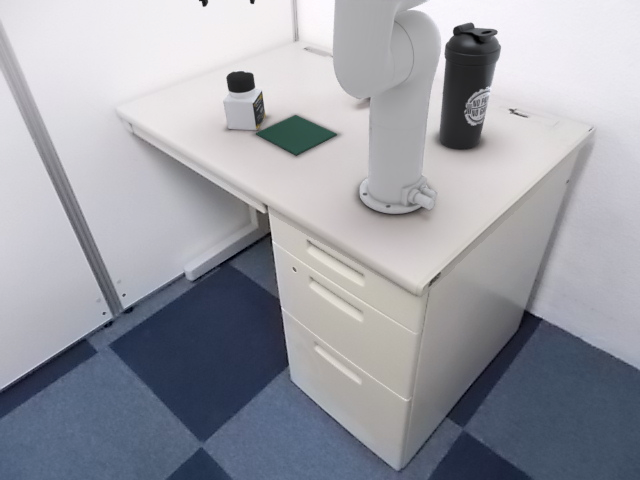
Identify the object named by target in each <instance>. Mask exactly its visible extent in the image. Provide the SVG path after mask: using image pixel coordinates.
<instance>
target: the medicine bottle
mask: <svg viewBox="0 0 640 480" xmlns="http://www.w3.org/2000/svg"><path fill="white" fill-rule="evenodd" d="M254 75H255V74H254V73H253V72H252V71H249V70H245V69H238V70H237V69H236V70H233V71H231V72H230V73H228V74H227V76H226V77H225V78H226V84H227V90H228V94H226V95H227V96H225V97H224V99H223V101H222V102H223V103H222V104H223V107H224V113H225V119H226V125H227V129H228V130H240V131H241V130H242V131H257V130H259V128H260V127H261V125H262V123H263V121H264V120H265V119H266V110H265V103H264V95H263V89H262V88H256V85H255V84H256V82H255V76H254Z"/></svg>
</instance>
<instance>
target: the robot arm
mask: <svg viewBox="0 0 640 480" xmlns="http://www.w3.org/2000/svg"><path fill="white" fill-rule="evenodd" d="M198 1H199V2H201V6H202V8H205V7H207V6H208V4H209V0H198ZM429 1H430V0H334V9H333V10H334V12H333V14H334V15H333V30H332V31H333V34H332V64H333V71H334V75H335V78H336V80H337V82H338V84H339V86H340V87H341V89H342V91H344V92H345V93H346V94H347V95H349V96H351V97H353V98H355V99H357V98H362V99H369V97H371V99H370V101H369V109H368V110H369V114H368V155H367V156H368V157H367V158H368V161H367V162H368V163H367V164H368V165H367V170H368V171H367V177H366V178H365V179H363V180H362V181H361V183H360V185H359V193H358V194H359V198H360V200H361V201H362V203H363V204H364V205H366V206H367V207H368V208H370V209H372V210H374V211H376V212H380V213H383V214H384V213H385V214H390V215H396V214H397V215H398V214H401V215H402V214H406V213H411V212H414V211H416V210H418V209H420V208H421V207H422V208H425V209H426V210H428V211H430V210H432V209H434V207H435V203H436V200H435V199H436V198H437V196H438V192H437V191H435V190H433V189H431V188H430V189H429V186H428V184H427V176H424V175H423V167H424V166H423V165H424V157H425V156H424V155H425V148H426V147H425V146H426V136H427V127H428V126H427V125H428V119H429V118H428V117H429V108H430V100H431V93H432V89H433V83H434V81H435V76H436V72H437V69H438V66H439V62H440V58H441V51H442V50H441V49H442V36H441V32H440V29H439V26H438V25H437V23H436V21H435V20H434V18H432V17H431V16H430V15H429V14H427V13H426V12H425V11H421V10H416V9H414V8H416V7H418V6H421V5H423V4H425V3H427V2H429ZM249 3H250V4H251V5H255V3H256V0H249Z"/></svg>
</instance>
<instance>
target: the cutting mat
mask: <svg viewBox="0 0 640 480" xmlns="http://www.w3.org/2000/svg"><path fill="white" fill-rule="evenodd" d="M255 135H256V136H258V137H259V138H262V139H264V140H266V141H268V142H269V143H272V144H273V145H275V146H277V147H279V148H281V149H283V150H285V151H287V152H289V153H290V154H292V155H294V156H299V155H301V154H303V153H304V152H306V151H309V150H311V149H312V148H314V147H316V146H319V145H320V144H323V143H324V142H326V141H328V140H330V139H332V138H334V137H336V136H337V135H338V134H337V133H336V132H334V131H333V130H330V129H328V128H325V127H324V126H321V125H319V124H316V123H315V122H312V121H310V120H308V119H306V118H303V117H301V116H299V115H297V114H295V115H292V116H290V117H288V118H285V119H283V120H281V121H278V122H276V123H274V124H272V125H270V126H267V127H266V128H264V129H261V130H259V131H257V132H255Z"/></svg>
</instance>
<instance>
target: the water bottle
mask: <svg viewBox="0 0 640 480" xmlns="http://www.w3.org/2000/svg"><path fill="white" fill-rule="evenodd" d="M498 33H499V31H498V30H497V29H495V28H483V27H475V24H474V23H473V22H466V23H465V22H464V23H462V24H459V25H456V26H454V27H453V29H452V36H451V37H450V38H449V39H448V41H447V42H446V43H445V45H444V59H445V63H444V76H443V85H442V96H441V97H442V99H441V111H440V121H439V132H438V141H439V143H440V144H441V145H442V146H444V147H446V148H449V149H452V150H461V151H463V150H471V149H473V148H476V147H477V146H479V145H480V141H481V136H482V133H483V132H482V131H483V127H484V123H485V117H486V114H487V110H488V105H489V100H490V96H491V92H492V85H493V81H494V76H495V71H496V68H497V67H496V66H497V62H498V61H499V60H500V57H501V51H502V46H501V44H500V42H499V39H498V38H497V37H496V35H498Z"/></svg>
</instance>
